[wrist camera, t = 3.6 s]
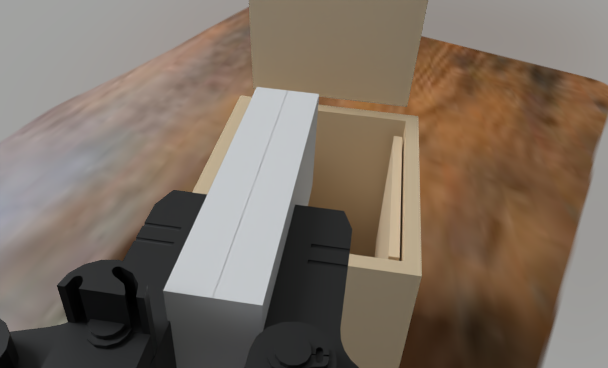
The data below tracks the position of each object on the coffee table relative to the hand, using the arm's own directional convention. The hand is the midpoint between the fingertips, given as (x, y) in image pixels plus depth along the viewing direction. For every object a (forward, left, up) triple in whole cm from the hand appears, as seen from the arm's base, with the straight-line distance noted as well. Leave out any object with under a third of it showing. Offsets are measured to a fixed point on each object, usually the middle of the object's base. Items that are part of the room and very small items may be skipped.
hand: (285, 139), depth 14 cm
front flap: (0, -13, -2) cm, 13 cm away
